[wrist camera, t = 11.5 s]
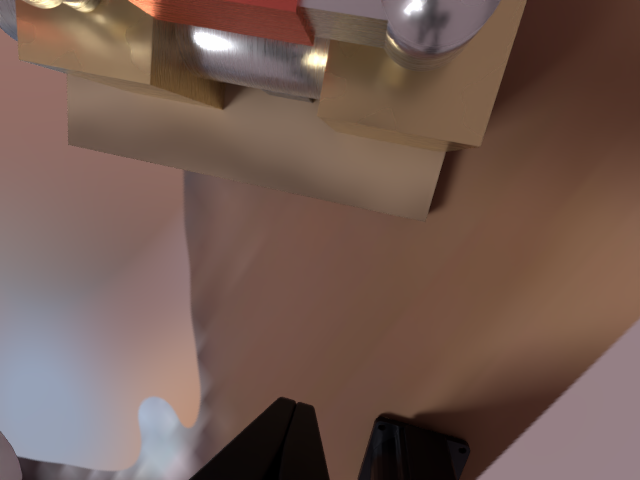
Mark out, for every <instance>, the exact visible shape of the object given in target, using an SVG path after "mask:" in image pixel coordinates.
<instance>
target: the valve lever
mask: <svg viewBox="0 0 640 480" xmlns="http://www.w3.org/2000/svg"><path fill="white" fill-rule="evenodd" d="M129 1H130V2H132V3H133V4H135V5H136V6H138V7H139V8H141V9H142V10H144V11H145V12H147V13H148V14H150V15H151V16H153V17H154V18H156V19H157V20H163V21H168V22H174V23H180V24H186V25H192V26H197V27H203V28H209V29H215V30H221V31H226V32H232V33H238V34H244V35H249V36H255V37H261V38H267V39H273V40H278V41H284V42H290V43H296V44H302V45H307V46H313V44H314V38H315V37H321V38H326V39H332V40H338V41H344V42H350V43H356V44H362V45H368V46H374V47H380V48H384V50H385V51H386V53H387V54H388V56H389V57H390V58H391V59H392V60H393V61H394V62H395V63H397V64H398V65H400V66H401V67H403V68H406V69H408V70H412V71H430V70H434V69H437V68H440V67H442V66H444V65H446V64H448V63H449V62H451V61H452V60H453V59H455V58H456V57H457V56H458V55H459V54H460V53H461V52H462V51H463V50H464V48H465V47H466V46H467V45H468V43H469V42H470V41H471V40H472V39H473V37H474V36H475V35H476V34H477V32H478V31H479V30H480V29H481V28H482V26H483V25H484V24H485V23H486V21H487V20H488V19H489V18H490V17H491V15H492V14H493V13H494V11H495V10H496V8H497V6H498V5H499V3H500V1H501V0H129Z"/></svg>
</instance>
